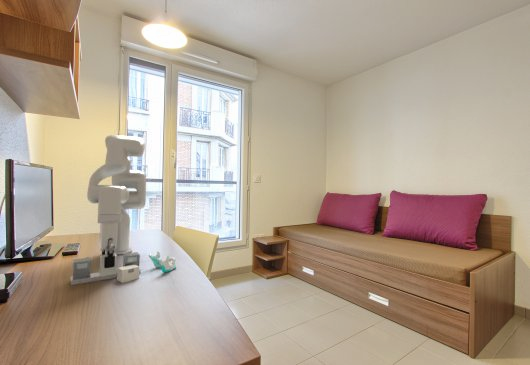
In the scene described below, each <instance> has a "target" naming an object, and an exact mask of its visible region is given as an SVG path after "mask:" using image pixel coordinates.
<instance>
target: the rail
mask: <svg viewBox="0 0 530 365" xmlns="http://www.w3.org/2000/svg"><path fill="white" fill-rule="evenodd" d="M122 255H123V258H122V267H124V266H129V265H137V266H139V267H140V258H141V254H140V253H139V252H138V251H137V252H135V251H134V252H129V253H125V254H122ZM72 260H73V261H72V264H73V265H72V276H70V285H71V286H72V285H79V284H85V283H93V282H98V281H103V280H105V281H106V280H110V279H117V273H118V269H117V271H116V274H110V275H103V276H101V275H100V271H99V272H93V273H91V271H92V270H91V268H92V267H91V266H92V265H91V264H92V259H91V257H84V258H76V259H75V258H74V259H72ZM141 273H142V272H141V269H140V268H139V275H140V274H141Z"/></svg>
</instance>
